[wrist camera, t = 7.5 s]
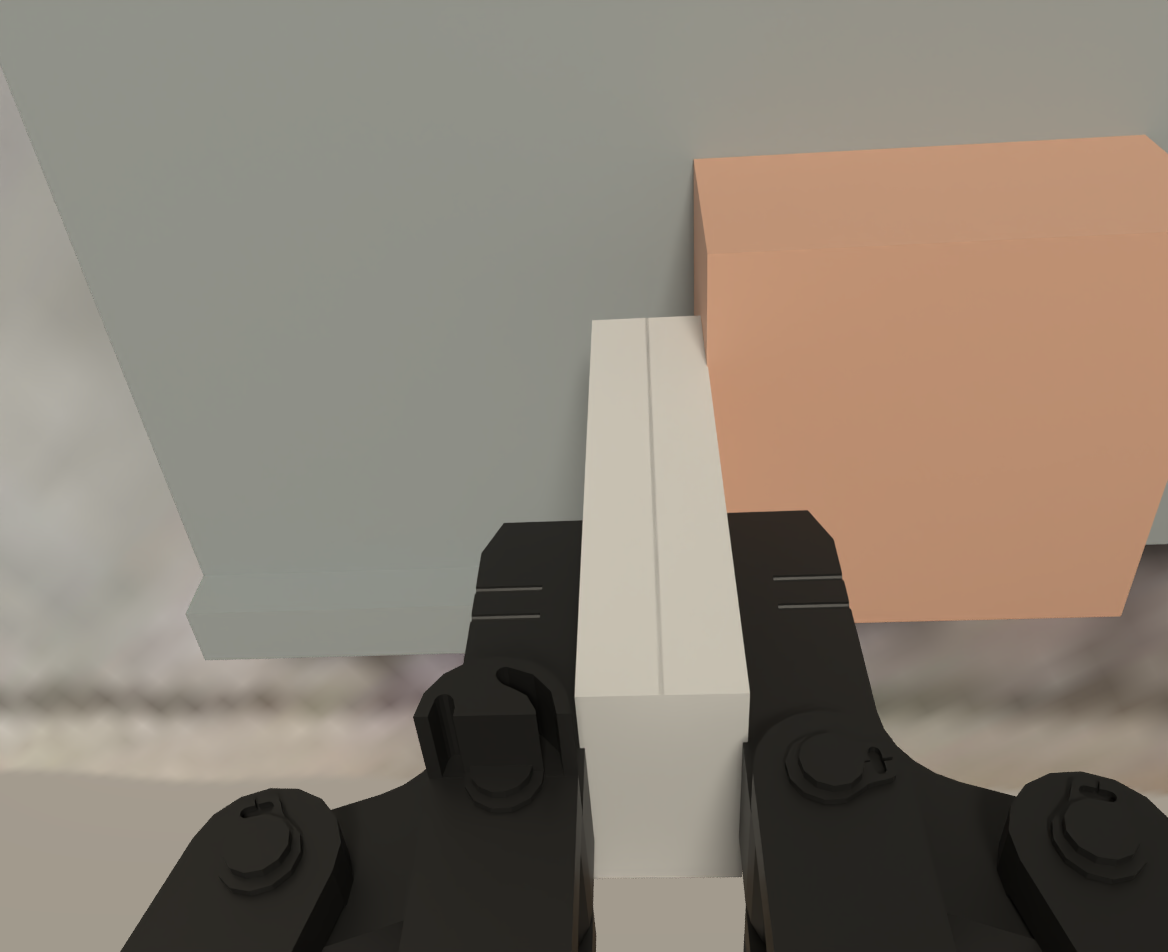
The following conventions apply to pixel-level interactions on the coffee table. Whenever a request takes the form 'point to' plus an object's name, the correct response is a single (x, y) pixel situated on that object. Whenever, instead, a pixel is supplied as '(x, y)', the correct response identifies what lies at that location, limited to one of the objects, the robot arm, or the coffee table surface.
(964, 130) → the trap box
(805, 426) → the block
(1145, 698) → the coffee table surface
